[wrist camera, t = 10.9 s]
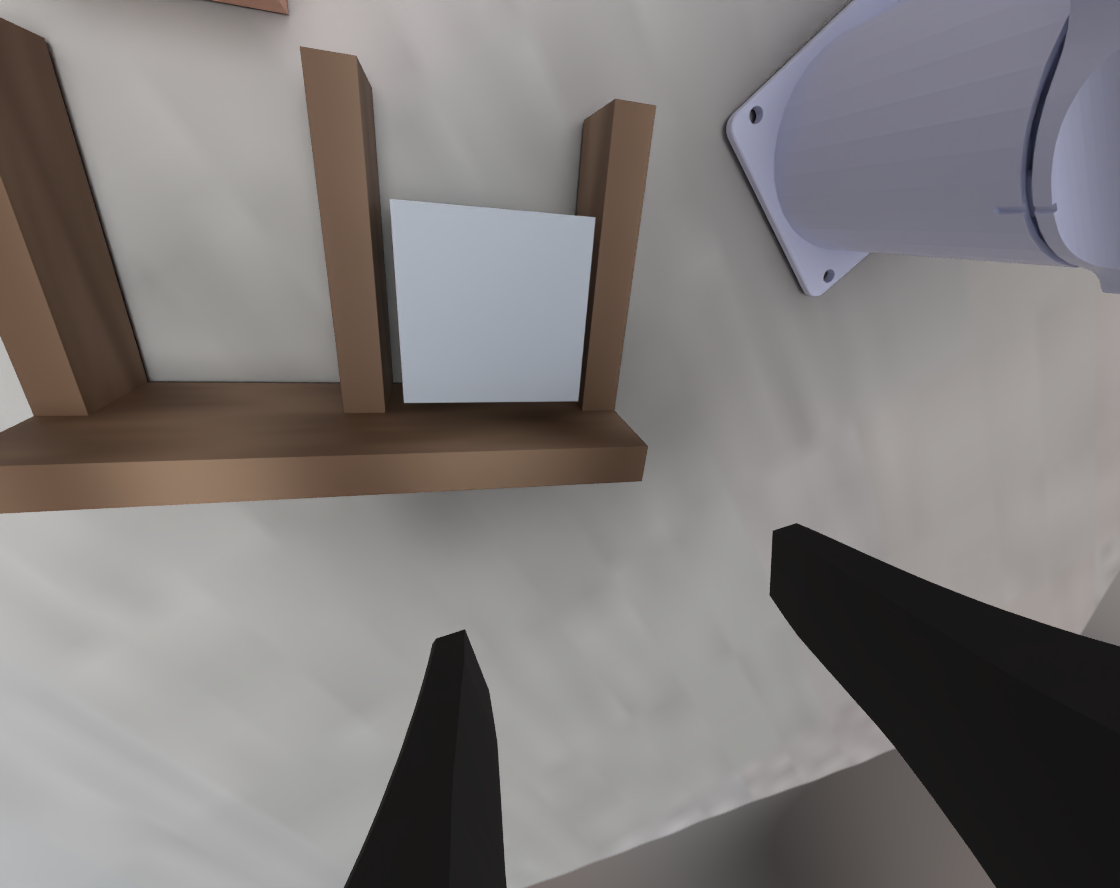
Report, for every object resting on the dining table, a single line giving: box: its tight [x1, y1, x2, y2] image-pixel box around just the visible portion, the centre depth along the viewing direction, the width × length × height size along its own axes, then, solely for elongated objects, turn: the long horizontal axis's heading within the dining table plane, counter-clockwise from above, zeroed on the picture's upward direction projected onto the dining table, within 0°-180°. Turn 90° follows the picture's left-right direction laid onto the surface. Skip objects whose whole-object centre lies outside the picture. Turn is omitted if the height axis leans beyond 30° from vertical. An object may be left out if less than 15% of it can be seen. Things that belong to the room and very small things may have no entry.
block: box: [390, 199, 596, 403], centre depth 15 cm, size 5×5×5 cm
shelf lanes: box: [0, 18, 656, 514], centre depth 13 cm, size 17×10×6 cm, turn 86°
